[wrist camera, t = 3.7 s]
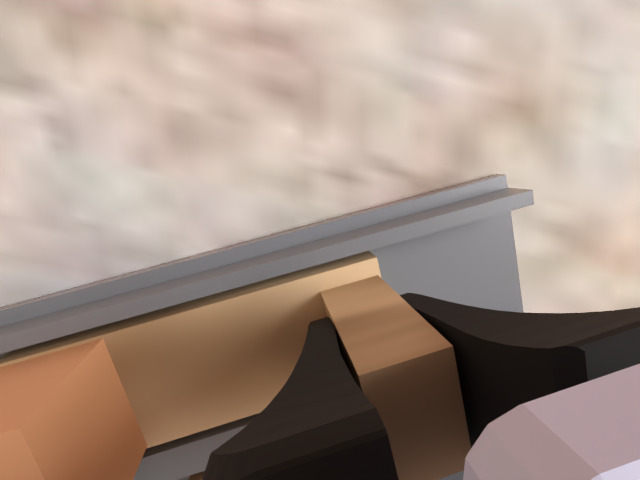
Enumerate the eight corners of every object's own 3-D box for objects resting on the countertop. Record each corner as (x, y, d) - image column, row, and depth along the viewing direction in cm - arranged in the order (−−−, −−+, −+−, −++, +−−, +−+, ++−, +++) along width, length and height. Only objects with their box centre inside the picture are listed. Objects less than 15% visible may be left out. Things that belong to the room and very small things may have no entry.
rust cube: (147, 445, 12) (93, 575, 8) (21, 485, 12) (-97, 640, 8) (102, 338, 11) (19, 428, 7) (-36, 377, 11) (-200, 493, 7)
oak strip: (389, 351, 14) (481, 487, 8) (64, 452, 13) (-105, 696, 7) (366, 249, 13) (453, 318, 7) (14, 348, 12) (-230, 526, 6)
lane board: (531, 439, 17) (563, 472, 15) (37, 610, 15) (5, 673, 13) (496, 174, 14) (530, 175, 12) (-117, 339, 12) (-185, 369, 10)
